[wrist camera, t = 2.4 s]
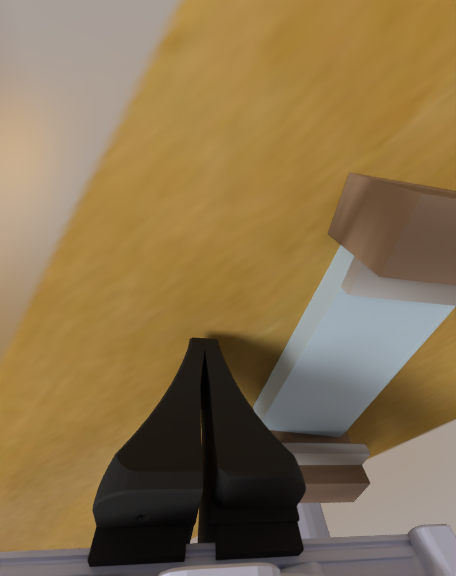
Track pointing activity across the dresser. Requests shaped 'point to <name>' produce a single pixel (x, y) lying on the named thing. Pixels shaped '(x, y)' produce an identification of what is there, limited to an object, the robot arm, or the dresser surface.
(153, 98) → the dresser surface
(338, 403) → the cover plate
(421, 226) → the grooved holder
